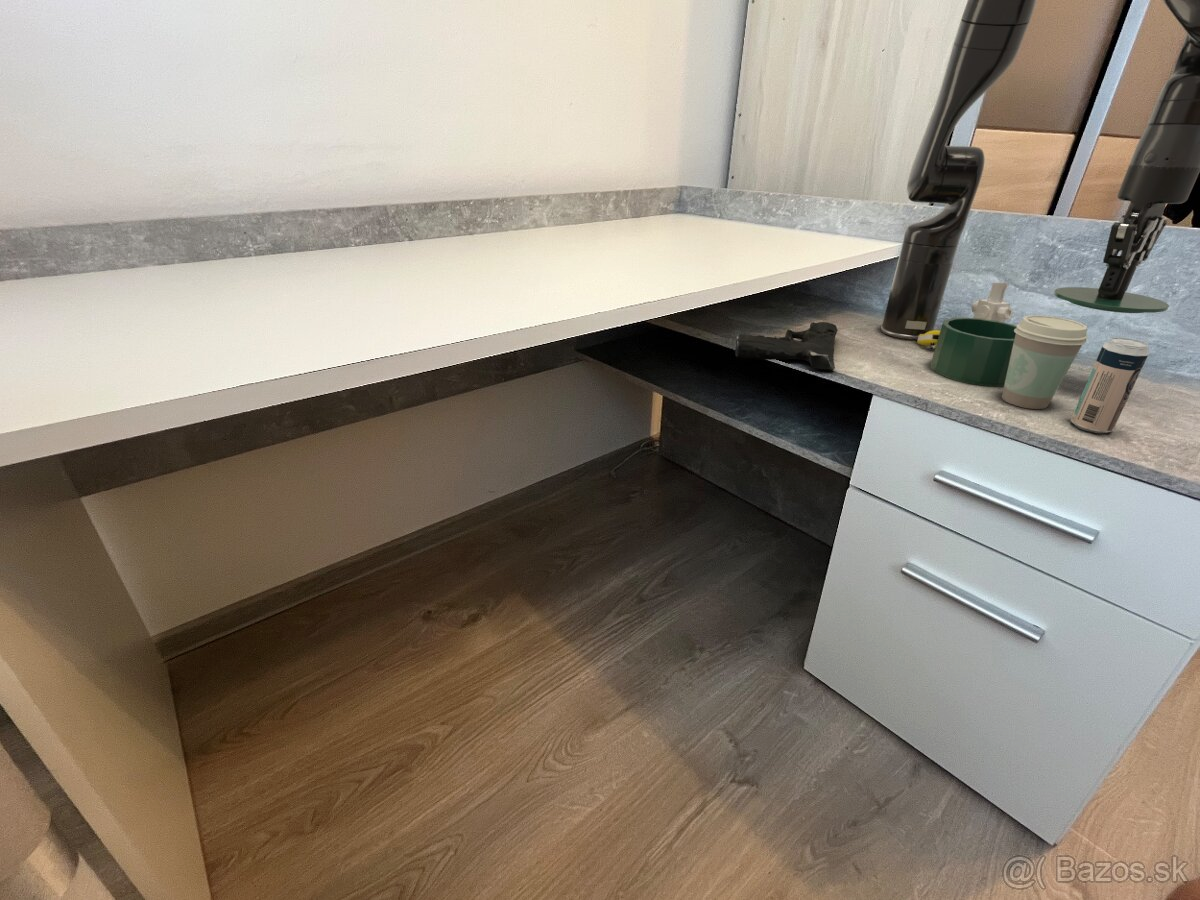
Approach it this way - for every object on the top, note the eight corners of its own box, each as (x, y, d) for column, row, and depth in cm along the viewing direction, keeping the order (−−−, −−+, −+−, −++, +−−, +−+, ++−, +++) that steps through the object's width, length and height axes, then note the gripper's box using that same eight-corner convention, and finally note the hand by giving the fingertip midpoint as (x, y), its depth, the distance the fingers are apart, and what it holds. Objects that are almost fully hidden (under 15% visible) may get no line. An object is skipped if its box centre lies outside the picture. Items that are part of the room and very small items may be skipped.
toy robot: (989, 353, 109) (1011, 286, 104) (955, 340, 116) (975, 277, 110) (1005, 351, 110) (1029, 285, 105) (971, 339, 117) (992, 276, 111)
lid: (1035, 291, 96) (1051, 248, 93) (1129, 297, 94) (1148, 253, 91) (1080, 313, 84) (1099, 264, 81) (1189, 320, 82) (1213, 270, 79)
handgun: (746, 327, 120) (748, 310, 118) (834, 337, 115) (838, 319, 114) (729, 361, 103) (732, 342, 101) (832, 375, 98) (836, 354, 96)
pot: (920, 357, 106) (932, 315, 103) (997, 362, 105) (1012, 320, 101) (944, 382, 95) (958, 336, 92) (1030, 389, 94) (1048, 342, 90)
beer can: (1120, 437, 79) (1161, 349, 73) (1079, 433, 80) (1118, 346, 74) (1101, 422, 83) (1139, 338, 77) (1062, 418, 84) (1097, 335, 78)
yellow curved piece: (922, 347, 108) (926, 327, 108) (915, 350, 114) (918, 331, 114) (984, 353, 105) (988, 334, 105) (973, 356, 111) (977, 337, 111)
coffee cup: (987, 387, 94) (1013, 311, 88) (1051, 396, 91) (1082, 318, 86) (996, 407, 87) (1025, 326, 81) (1065, 417, 84) (1100, 334, 79)
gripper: (1184, 165, 74) (1124, 304, 82) (1217, 164, 81) (1159, 292, 89) (1112, 162, 79) (1062, 293, 87) (1149, 162, 87) (1100, 283, 95)
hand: (1111, 292), depth 88 cm, fingers closed on lid, 3 cm apart
